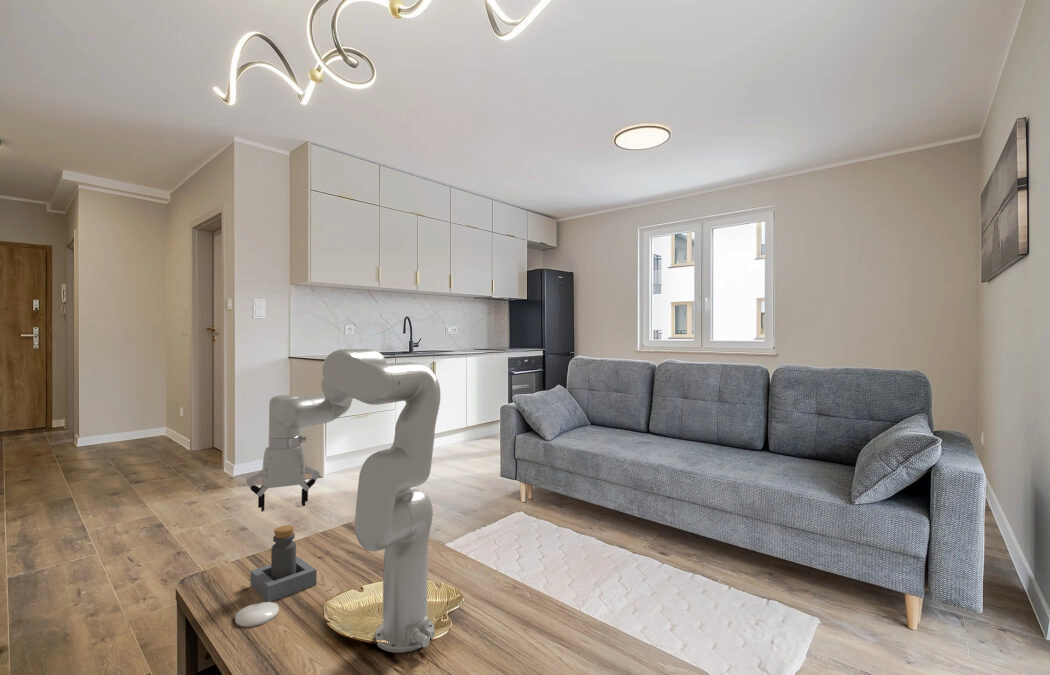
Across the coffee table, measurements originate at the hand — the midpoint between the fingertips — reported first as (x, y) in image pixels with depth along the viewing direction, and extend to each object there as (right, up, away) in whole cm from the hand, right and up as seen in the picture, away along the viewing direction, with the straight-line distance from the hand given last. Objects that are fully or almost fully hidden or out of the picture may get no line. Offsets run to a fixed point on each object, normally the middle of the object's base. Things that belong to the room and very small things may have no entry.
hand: (283, 507), depth 130 cm
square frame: (0, -21, 0) cm, 21 cm away
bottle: (0, -21, 0) cm, 21 cm away
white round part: (+1, -21, -14) cm, 25 cm away
